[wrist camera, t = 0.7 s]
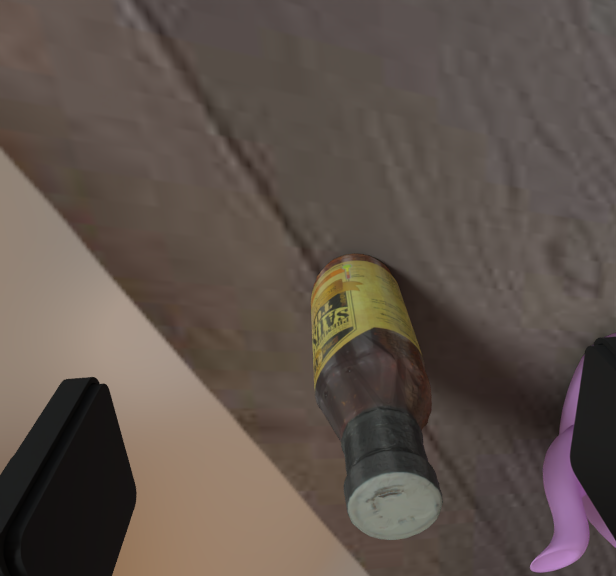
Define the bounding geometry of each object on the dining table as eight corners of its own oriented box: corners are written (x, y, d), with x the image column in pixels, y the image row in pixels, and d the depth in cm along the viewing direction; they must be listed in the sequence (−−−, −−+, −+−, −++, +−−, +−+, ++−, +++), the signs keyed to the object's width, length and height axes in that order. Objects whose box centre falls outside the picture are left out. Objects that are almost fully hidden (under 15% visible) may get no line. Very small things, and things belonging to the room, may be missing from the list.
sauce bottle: (321, 241, 40) (343, 424, 22) (407, 259, 40) (497, 451, 22) (300, 322, 42) (304, 545, 24) (381, 338, 43) (443, 566, 25)
